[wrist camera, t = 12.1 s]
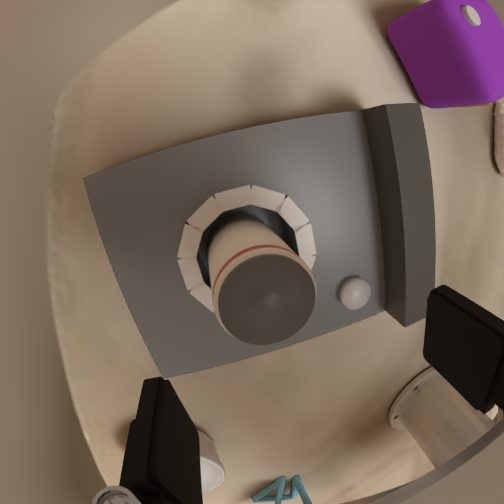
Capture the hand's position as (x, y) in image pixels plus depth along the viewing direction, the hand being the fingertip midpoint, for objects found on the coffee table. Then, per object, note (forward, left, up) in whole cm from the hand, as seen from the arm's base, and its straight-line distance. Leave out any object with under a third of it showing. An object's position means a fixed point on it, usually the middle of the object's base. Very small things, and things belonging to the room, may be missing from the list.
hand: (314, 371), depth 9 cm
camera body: (-2, 0, -15) cm, 15 cm away
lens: (+1, 0, -14) cm, 14 cm away
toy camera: (-24, -14, -16) cm, 32 cm away
